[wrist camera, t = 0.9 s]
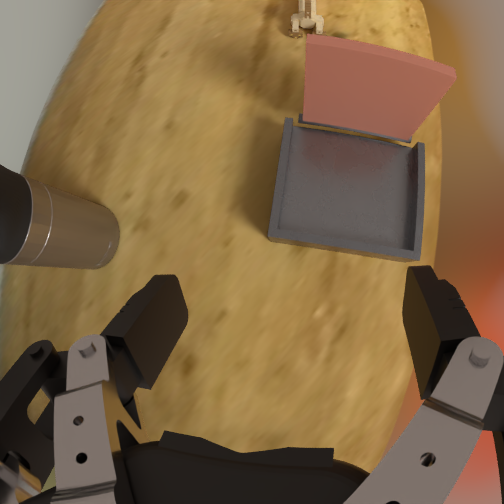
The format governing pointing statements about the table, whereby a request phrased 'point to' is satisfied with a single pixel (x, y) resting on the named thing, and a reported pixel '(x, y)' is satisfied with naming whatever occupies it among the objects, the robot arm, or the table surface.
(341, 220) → the grey open box
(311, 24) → the cream blocky figure
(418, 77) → the flat pink square board
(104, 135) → the table surface
